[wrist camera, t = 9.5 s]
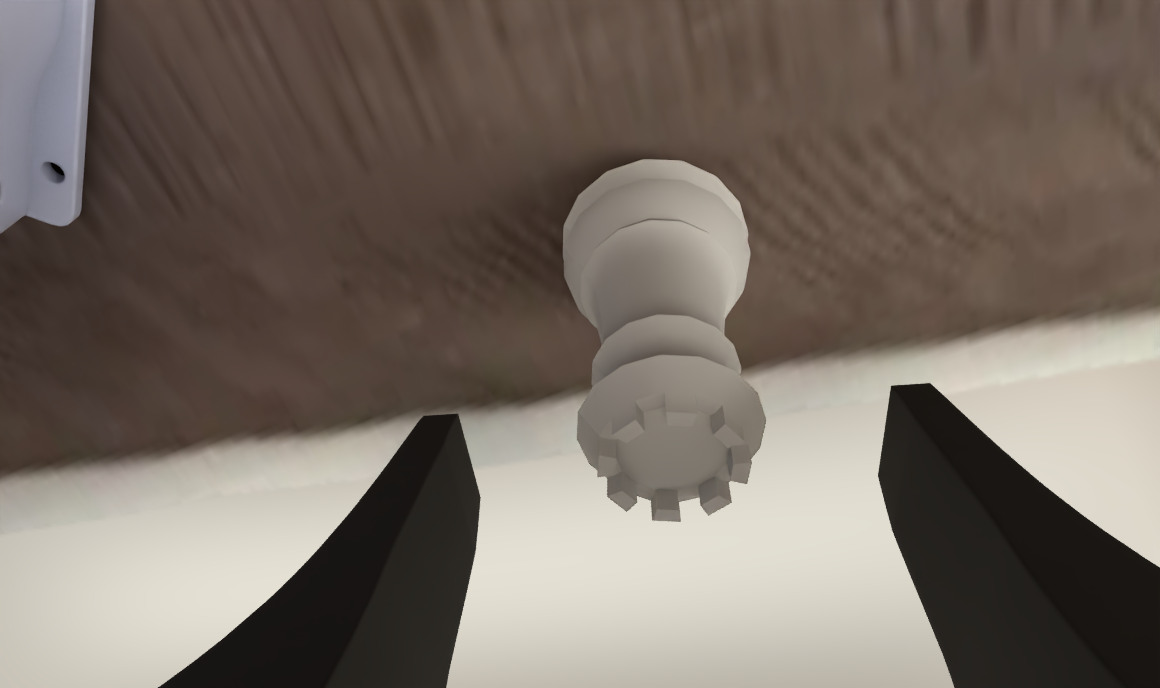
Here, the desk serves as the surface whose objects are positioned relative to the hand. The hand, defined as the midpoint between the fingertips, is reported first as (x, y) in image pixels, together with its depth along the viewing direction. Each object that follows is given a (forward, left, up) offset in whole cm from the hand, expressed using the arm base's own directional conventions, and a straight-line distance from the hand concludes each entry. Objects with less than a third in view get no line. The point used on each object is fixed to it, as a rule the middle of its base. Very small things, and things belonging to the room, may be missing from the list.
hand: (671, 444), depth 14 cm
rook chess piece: (0, 0, -8) cm, 8 cm away
